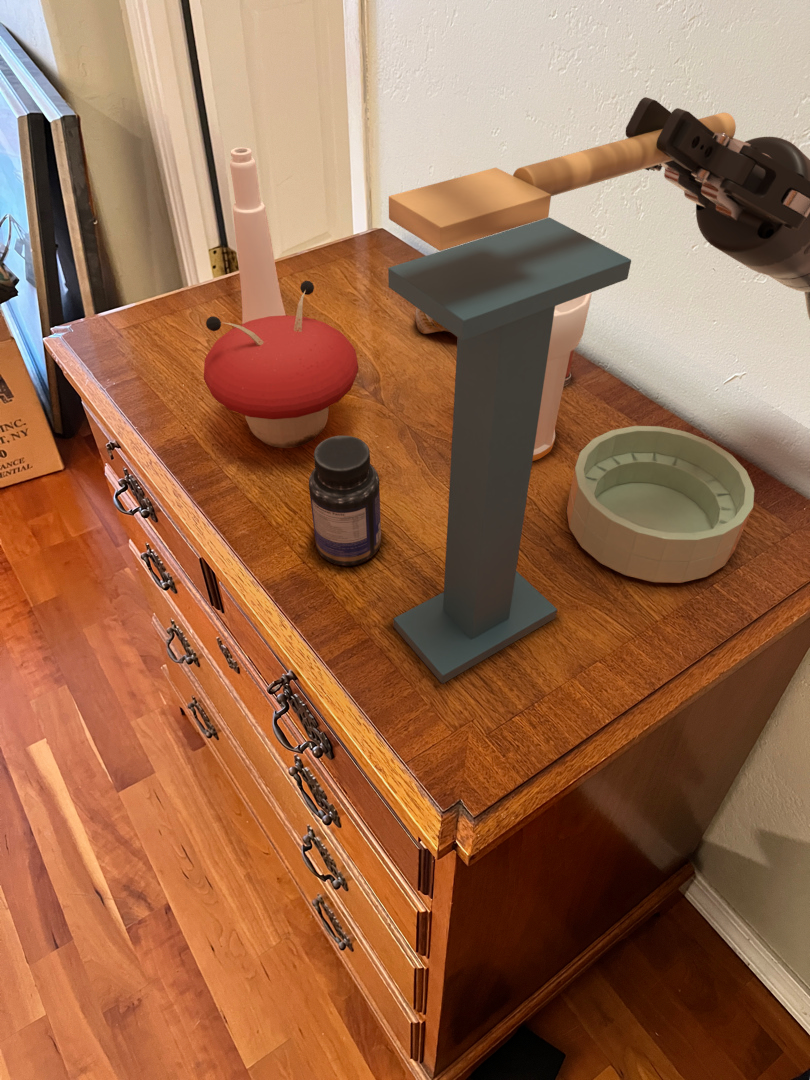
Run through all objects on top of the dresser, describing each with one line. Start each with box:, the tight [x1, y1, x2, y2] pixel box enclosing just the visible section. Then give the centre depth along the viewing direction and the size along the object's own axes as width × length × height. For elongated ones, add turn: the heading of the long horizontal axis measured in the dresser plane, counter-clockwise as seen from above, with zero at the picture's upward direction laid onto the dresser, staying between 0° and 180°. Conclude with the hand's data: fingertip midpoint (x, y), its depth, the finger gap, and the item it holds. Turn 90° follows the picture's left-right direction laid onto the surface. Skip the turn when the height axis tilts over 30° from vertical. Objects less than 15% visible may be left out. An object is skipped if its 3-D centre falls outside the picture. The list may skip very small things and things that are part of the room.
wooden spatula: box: [388, 112, 737, 252], centre depth 44 cm, size 23×4×2 cm, turn 124°
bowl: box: [566, 425, 755, 584], centre depth 74 cm, size 16×16×6 cm
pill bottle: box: [308, 435, 382, 567], centre depth 70 cm, size 6×6×11 cm
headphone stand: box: [387, 216, 632, 685], centre depth 56 cm, size 7×12×32 cm, turn 124°
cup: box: [532, 292, 593, 462], centre depth 79 cm, size 11×11×17 cm
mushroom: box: [203, 280, 359, 449], centre depth 81 cm, size 16×16×15 cm
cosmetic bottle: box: [229, 147, 286, 324], centre depth 93 cm, size 6×6×22 cm
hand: (654, 122), depth 45 cm, fingers closed on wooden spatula, 2 cm apart
